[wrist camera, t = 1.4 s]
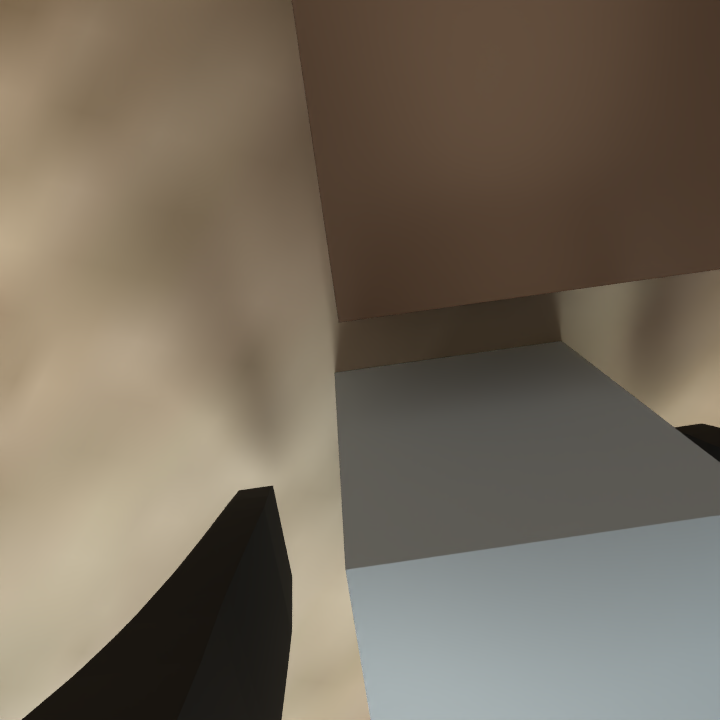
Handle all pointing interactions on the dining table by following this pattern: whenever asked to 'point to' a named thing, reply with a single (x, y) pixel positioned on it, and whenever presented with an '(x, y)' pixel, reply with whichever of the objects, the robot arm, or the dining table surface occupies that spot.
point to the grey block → (526, 543)
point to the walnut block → (511, 145)
